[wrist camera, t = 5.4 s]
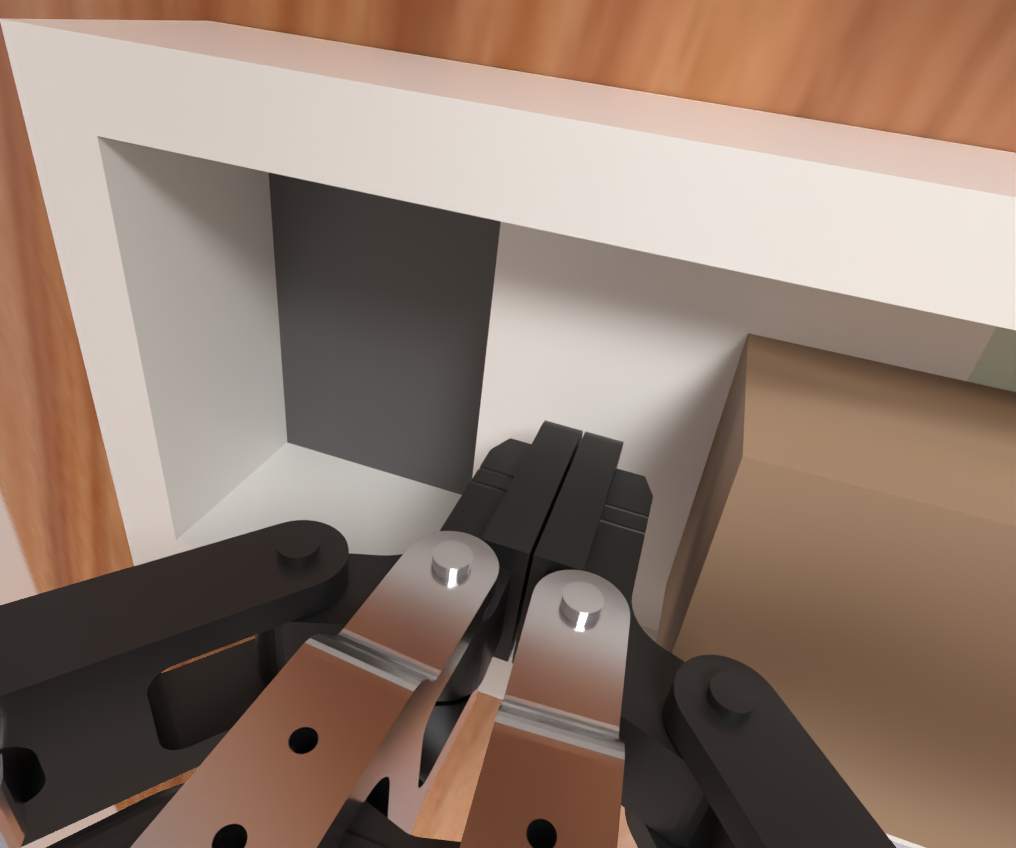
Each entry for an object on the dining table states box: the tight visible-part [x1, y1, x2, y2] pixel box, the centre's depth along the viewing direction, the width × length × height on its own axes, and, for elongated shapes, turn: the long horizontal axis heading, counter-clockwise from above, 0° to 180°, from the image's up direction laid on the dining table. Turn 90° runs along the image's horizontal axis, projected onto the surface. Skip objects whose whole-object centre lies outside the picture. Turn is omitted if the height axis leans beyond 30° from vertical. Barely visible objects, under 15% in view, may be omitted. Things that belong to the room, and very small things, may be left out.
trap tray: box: [0, 19, 1016, 848], centre depth 13 cm, size 12×32×5 cm, turn 82°
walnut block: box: [656, 333, 1016, 848], centre depth 11 cm, size 6×6×4 cm
